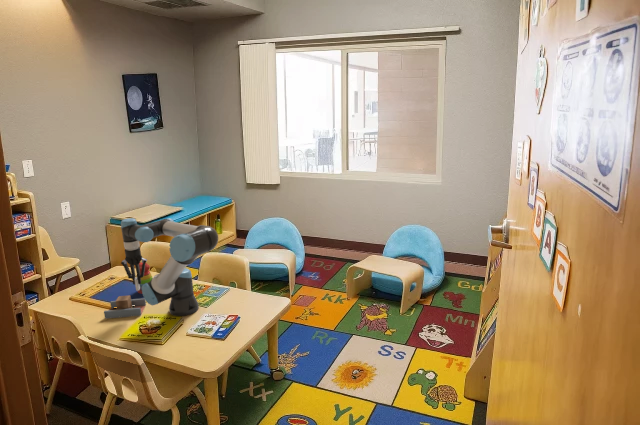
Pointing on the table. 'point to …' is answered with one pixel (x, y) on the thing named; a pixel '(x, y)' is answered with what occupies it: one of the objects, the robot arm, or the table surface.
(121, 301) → the walnut block
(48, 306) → the table surface
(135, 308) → the trap trough
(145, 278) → the stacking bear
